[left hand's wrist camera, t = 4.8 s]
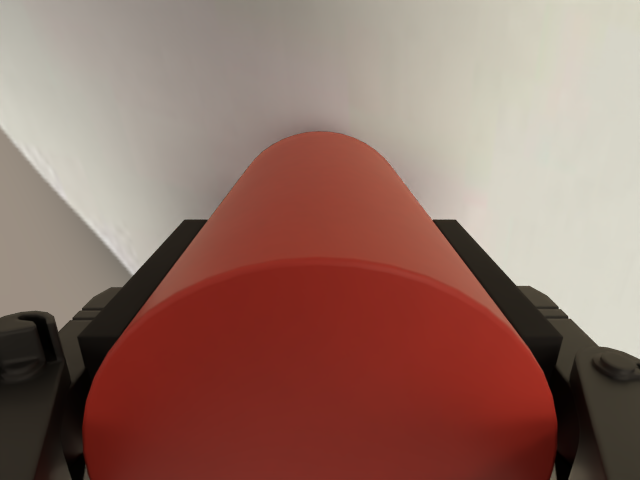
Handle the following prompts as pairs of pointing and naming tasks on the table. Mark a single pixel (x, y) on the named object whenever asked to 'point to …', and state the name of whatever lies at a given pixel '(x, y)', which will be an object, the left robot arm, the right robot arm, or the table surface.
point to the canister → (319, 343)
